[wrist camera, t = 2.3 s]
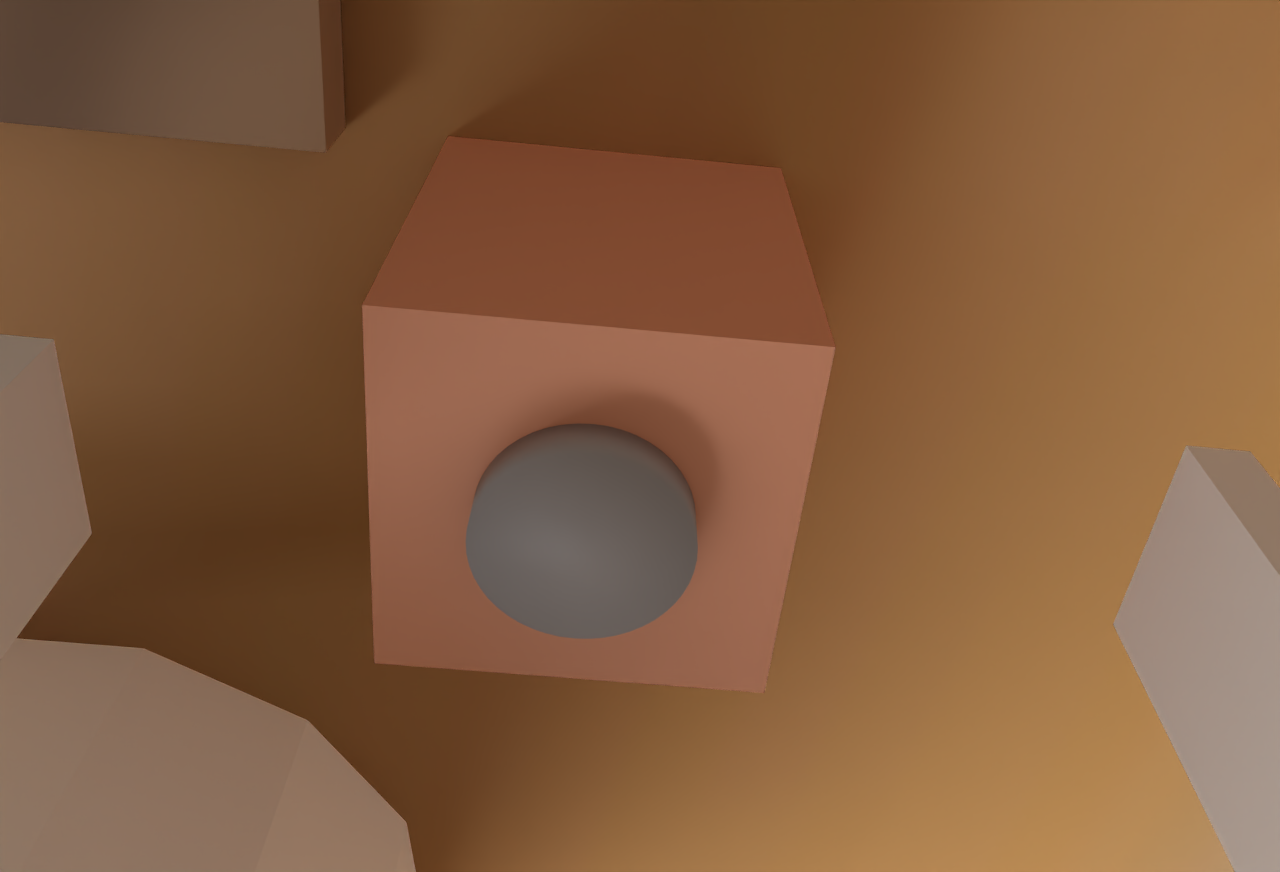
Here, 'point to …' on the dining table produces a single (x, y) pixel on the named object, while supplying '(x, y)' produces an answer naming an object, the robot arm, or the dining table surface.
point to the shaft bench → (177, 69)
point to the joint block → (590, 416)
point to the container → (172, 774)
